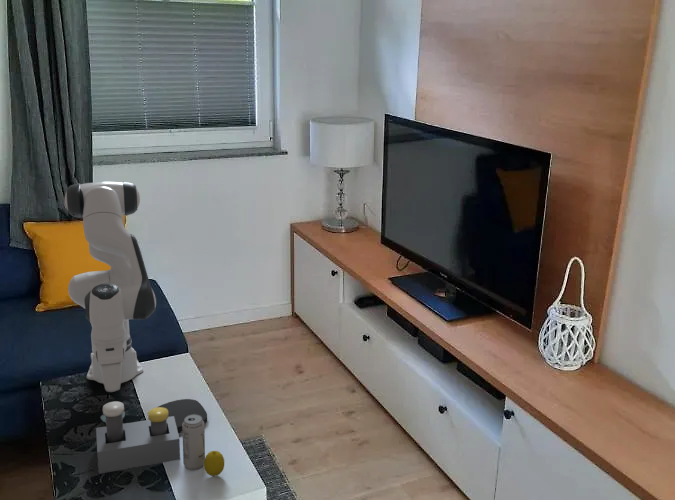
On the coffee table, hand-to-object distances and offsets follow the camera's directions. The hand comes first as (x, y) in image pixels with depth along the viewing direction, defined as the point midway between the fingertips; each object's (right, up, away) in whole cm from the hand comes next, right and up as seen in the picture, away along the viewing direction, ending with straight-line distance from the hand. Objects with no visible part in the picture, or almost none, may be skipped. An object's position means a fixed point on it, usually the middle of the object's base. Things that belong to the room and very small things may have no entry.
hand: (112, 389), depth 182 cm
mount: (+4, -21, +9) cm, 23 cm away
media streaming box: (+12, -16, +28) cm, 34 cm away
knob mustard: (+10, -19, +11) cm, 24 cm away
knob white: (-1, -16, +6) cm, 17 cm away
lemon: (+28, -25, +2) cm, 37 cm away
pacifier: (-8, -15, +25) cm, 31 cm away
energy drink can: (+21, -23, +6) cm, 32 cm away
